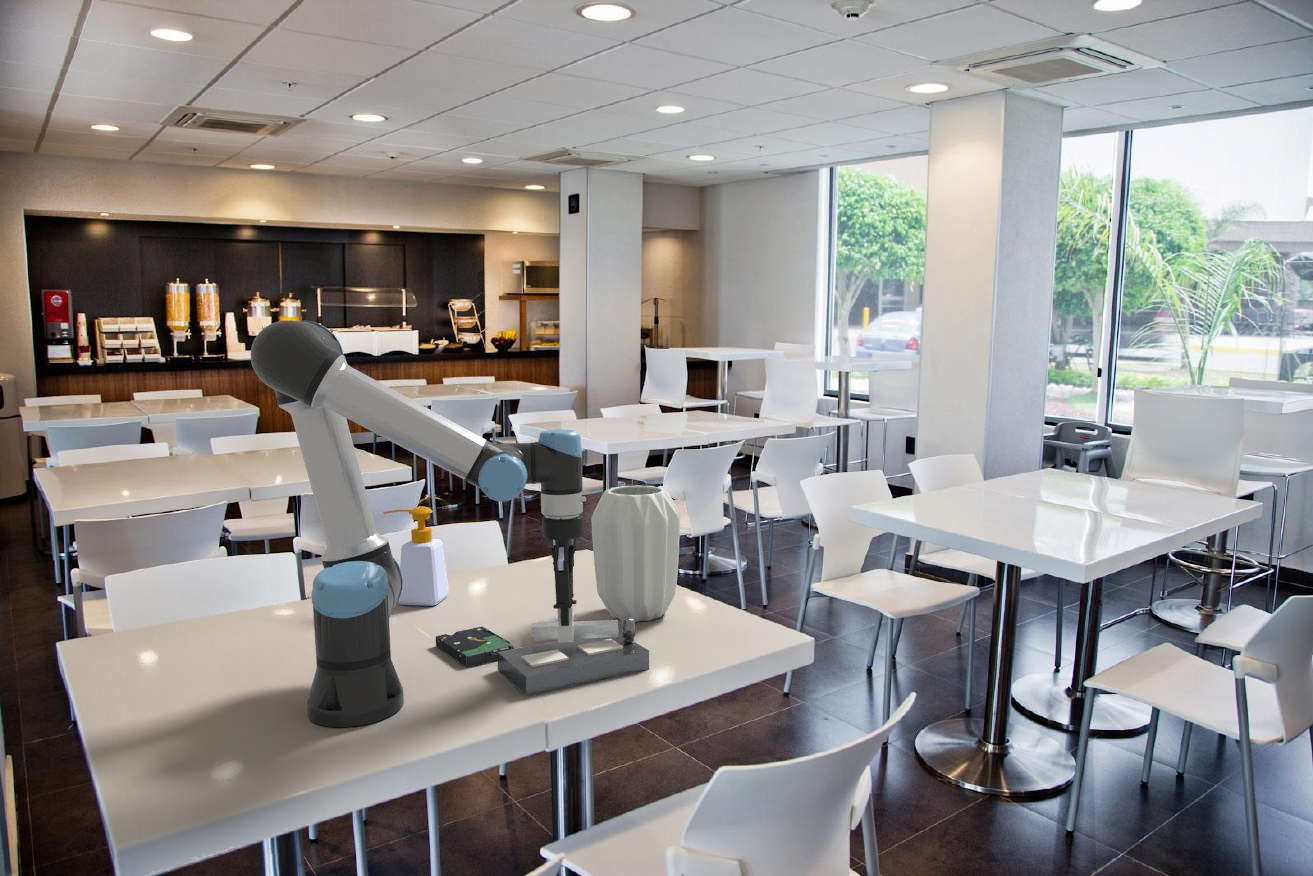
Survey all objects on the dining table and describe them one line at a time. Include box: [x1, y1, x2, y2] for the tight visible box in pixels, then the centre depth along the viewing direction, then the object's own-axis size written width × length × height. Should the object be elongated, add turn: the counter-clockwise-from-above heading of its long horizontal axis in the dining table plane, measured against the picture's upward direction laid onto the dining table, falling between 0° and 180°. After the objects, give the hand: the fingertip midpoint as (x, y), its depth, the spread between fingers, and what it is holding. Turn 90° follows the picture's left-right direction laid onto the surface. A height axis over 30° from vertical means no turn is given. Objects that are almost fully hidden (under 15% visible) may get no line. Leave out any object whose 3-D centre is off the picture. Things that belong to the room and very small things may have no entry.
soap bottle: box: [382, 505, 450, 607], centre depth 210 cm, size 10×14×22 cm
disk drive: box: [435, 626, 515, 669], centre depth 177 cm, size 10×3×15 cm
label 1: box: [521, 649, 569, 667], centre depth 162 cm, size 7×5×1 cm
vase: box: [591, 485, 681, 623], centre depth 198 cm, size 20×20×27 cm
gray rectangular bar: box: [530, 617, 636, 641], centre depth 170 cm, size 19×2×3 cm, turn 95°
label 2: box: [577, 639, 623, 655], centre depth 168 cm, size 7×5×1 cm
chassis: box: [497, 631, 650, 697], centre depth 166 cm, size 24×14×4 cm, turn 120°
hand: (566, 641), depth 168 cm, fingers closed
